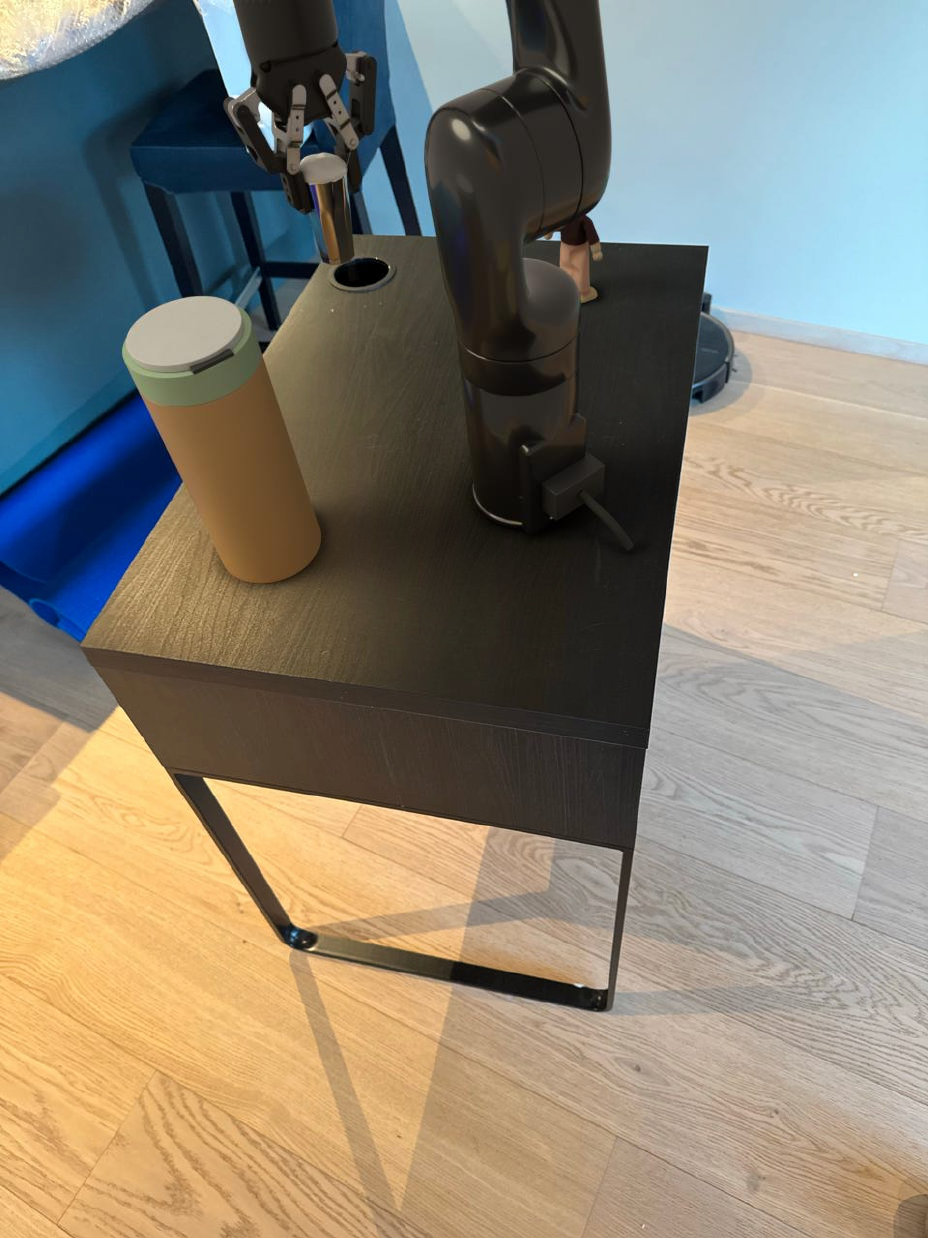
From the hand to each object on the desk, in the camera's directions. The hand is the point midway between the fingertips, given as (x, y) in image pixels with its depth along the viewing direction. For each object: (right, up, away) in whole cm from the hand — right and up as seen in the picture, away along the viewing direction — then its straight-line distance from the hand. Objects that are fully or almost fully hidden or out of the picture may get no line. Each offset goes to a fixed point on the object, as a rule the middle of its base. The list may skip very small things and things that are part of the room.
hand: (327, 199), depth 77 cm
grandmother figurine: (+25, -2, +17) cm, 30 cm away
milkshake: (+1, -4, +4) cm, 6 cm away
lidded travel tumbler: (-5, -32, -2) cm, 32 cm away
